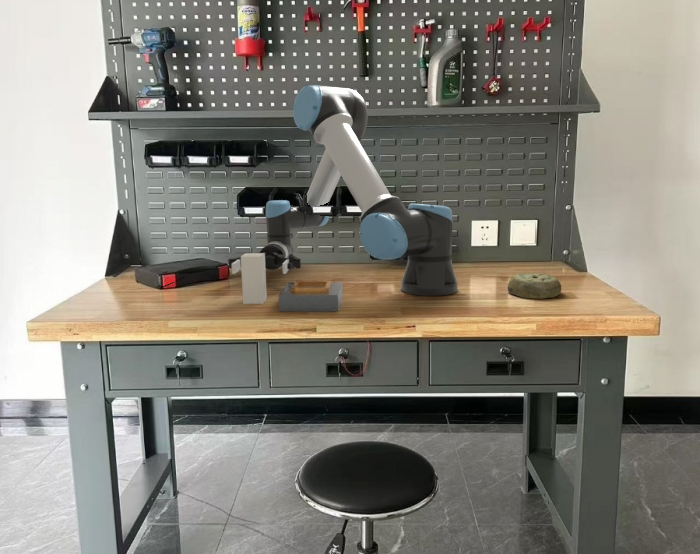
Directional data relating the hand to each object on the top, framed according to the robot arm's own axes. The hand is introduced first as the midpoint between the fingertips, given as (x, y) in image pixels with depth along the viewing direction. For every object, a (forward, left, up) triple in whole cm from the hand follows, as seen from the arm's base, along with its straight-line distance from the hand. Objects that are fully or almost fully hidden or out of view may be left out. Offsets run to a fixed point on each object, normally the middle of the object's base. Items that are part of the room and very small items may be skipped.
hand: (258, 268), depth 158 cm
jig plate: (-15, +11, -7) cm, 20 cm away
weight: (-72, -1, -7) cm, 73 cm away
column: (0, +8, -7) cm, 10 cm away
